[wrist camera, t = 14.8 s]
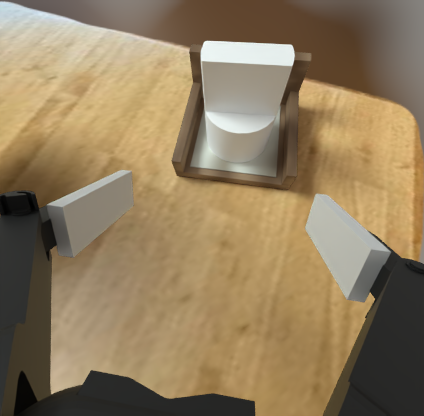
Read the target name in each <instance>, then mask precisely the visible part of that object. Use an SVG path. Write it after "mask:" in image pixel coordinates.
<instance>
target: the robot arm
mask: <svg viewBox="0 0 424 416" xmlns="http://www.w3.org/2000/svg"><path fill="white" fill-rule="evenodd" d="M133 206H134V200H133V185H132V171H127V170H120V171H118V172H116V173H114V174H111V175H109V176H107V177H105V178H103V179H101V180H99V181H96V182H94V183H92V184H90V185H88V186H86V187H83V188H81V189H79V190H77V191H75V192H73V193H71V194H68V195H66V196H64V197H62V198H60V199H58V200H55V201H53V202H51V203H49V204H47V205H46V206H44V207H42V208H40V209H39V207H38V203H37V200H36V196H35V193H34V192H32V191H12V192H7V193H3V194H0V214H1V216H0V416H255V401H250V400H245V399H240V398H234V397H229V396H224V395H219V394H205V395H197V396H189V397H182V398H174V399H167V398H164V397H162V396H160V395H159V394H157V393H155V392H154V391H152V390H150V389H148V388H147V387H145V386H143V385H141V384H140V383H138V382H136V381H135V380H133V379H131V378H129V377H124V376H119V375H113V374H108V373H103V372H98V371H92V370H91V371H90V373H89V375H88V377H87V378H86V380H85V382H84V383H83V385H79V386H75V387H71V388H67V389H64V390H62V391H59V392H56V393H54V394H52V395H51V390H50V354H51V273H52V255H51V252H50V249H52V248H53V247H55V246H56V245H57V249H58V253H59V255H60V256H66V257H73V258H74V257H75V256H76V255H77V254H78V253H80V252H81V251H82V250H83V249H84V248H85V247H86V246H88V245H89V244H90V243H91V242H92V241H93V240H95V239H96V238H97V237H98V236H99V235H100V234H102V233H103V232H104V231H105V230H106V229H107V228H109V227H110V226H111V225H112V224H113V223H114V222H115V221H117V220H118V219H119V218H120V217H121V216H122V215H124V214H125V213H126V212H127V211H128V210H129V209H131V208H132V207H133ZM305 229H306V231H307V233H308V235H309V236H310V238H311V240H312V241H313V243H314V245H315V246H316V248H317V250H318V251H319V253H320V255H321V257H322V258H323V260H324V262H325V263H326V265H327V267H328V268H329V270H330V272H331V273H332V275H333V277H334V279H335V280H336V282H337V284H338V285H339V287H340V289H341V290H342V292H343V294H344V296H345V297H346V299H347V300H352V301H359V302H365V300H366V298H367V297H368V295H369V293H370V292H371V294H372V295H373V296H374V298H375V301H374V303H373V304H372V306H371V308H370V310H369V312H368V313H367V315H366V317H365V318H366V320H365V322H364V324H363V326H362V329H361V331H360V333H359V335H358V338H357V340H356V342H355V344H354V347H353V349H352V351H351V353H350V356H349V358H348V360H347V362H346V364H345V367H344V369H343V371H342V373H341V376H340V378H339V380H338V382H337V385H336V387H335V389H334V391H333V394H332V396H331V398H330V400H329V402H328V405H327V407H326V409H325V411H324V414H323V416H424V264H422V263H420V262H417V261H414V260H411V259H406V258H401V257H400V256H399V255H398V254H397V253H395V252H394V251H393V250H392V249H391V248H390V247H387V245H386V244H385V243H384V242H382V240H380V239H379V238H378V237H377V236H376V235H374V234H372V233H371V232H369V231H367V230H366V229H365V228H364V227H363V226H361V225H360V224H359V223H358V222H357V221H356V220H355V219H354V218H352V217H351V216H350V215H349V214H348V213H347V212H346V211H345V210H343V209H342V208H341V207H340V206H339V205H338V204H337V203H336V202H335V201H333V200H332V199H331V198H330V197H329V196H328V195H323V194H316V195H315V198H314V201H313V204H312V208H311V211H310V214H309V217H308V220H307V224H306V227H305Z"/></svg>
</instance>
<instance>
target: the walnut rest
mask: <svg viewBox="0 0 424 416" xmlns="http://www.w3.org/2000/svg"><path fill="white" fill-rule="evenodd" d="M202 47H203V45H191V48H190V51H189V53H190V61H191V69H192V77H193V85H192V88H191V92H190V96H189V99H188V103H187V107H186V110H185V114H184V118H183V121H182V125H181V128H180V132H179V136H178V139H177V143H176V147H175V150H174V154H173V158H172V164H173V166H174V169H175V172H176V174H177V176H185V177H193V178H200V179H208V180H216V181H223V182H231V183H239V184H246V185H254V186H262V187H269V188H277V189H285V190H288V189H289V187H290V186H291V184H292V183H293V181H294V180H295V178H296V177H297V142H298V100H299V90H300V87H301V85H302V82H303V80H304V77H305V75H306V72H307V70H308V67H309V65H310V62H311V54H310V53H299V52H294V54H295V57H294V63H293V66H292V69H291V72H290V75H289V78H288V81H287V85H286V88H285V91H284V94H283V97H282V100H281V103H280V106H279V109H278V112H277V115H276V118H275V121H274V124H273V127H272V130H271V133H270V136H269V139H268V143H267V146H266V148H265V149H264V151H263V152H262V153H261V154H260V155H259V156H258V157H257V158H255V159H253V160H251V161H247V162H243V163H233V162H228V161H225V160H223V159H221V158H219V157H217V156H216V155H215V154H214V153H213V152H212V151H211V149H210V148H209V145H208V142H207V132H206V120H205V107H204V94H203V82H202V69H201V49H202Z"/></svg>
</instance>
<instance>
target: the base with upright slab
mask: <svg viewBox="0 0 424 416" xmlns="http://www.w3.org/2000/svg"><path fill="white" fill-rule="evenodd" d="M294 57H295V54H294V49H293V46H292V45H283V44H262V43H240V42H219V41H205V42H204V44H203V47H202V49H201V69H202V82H203V94H204V107H205V120H206V132H207V142H208V145H209V148H210V149H211V151H212V152H213V153H214V154H215V155H216V156H217V157H219V158H221V159H223V160H225V161H228V162H233V163H243V162H247V161H251V160H253V159H255V158H257V157H258V156H259V155H260V154H261V153H262V152H263V151H264V149H265V148H266V146H267V143H268V139H269V136H270V133H271V130H272V127H273V124H274V121H275V118H276V115H277V112H278V109H279V106H280V103H281V100H282V97H283V94H284V91H285V88H286V85H287V81H288V78H289V75H290V72H291V69H292V66H293V63H294Z"/></svg>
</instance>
